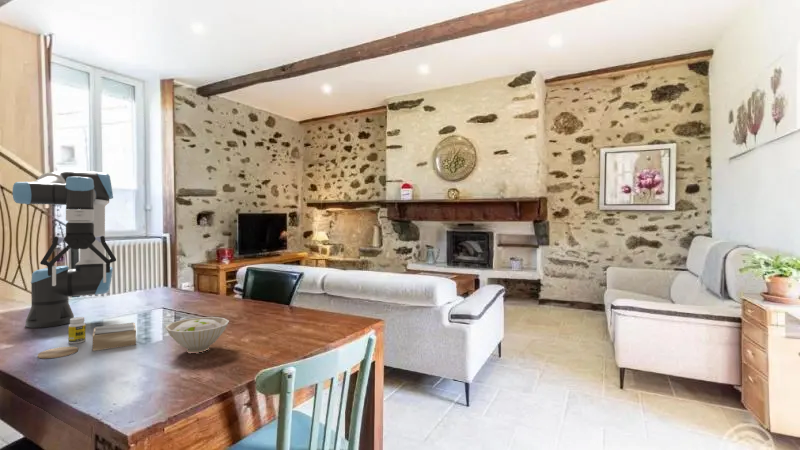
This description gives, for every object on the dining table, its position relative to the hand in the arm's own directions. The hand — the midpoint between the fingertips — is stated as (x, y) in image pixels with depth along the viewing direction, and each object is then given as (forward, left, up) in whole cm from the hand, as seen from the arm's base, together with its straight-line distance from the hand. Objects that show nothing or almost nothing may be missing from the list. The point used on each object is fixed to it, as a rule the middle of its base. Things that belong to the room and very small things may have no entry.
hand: (80, 283), depth 138 cm
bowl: (+27, +33, -22) cm, 48 cm away
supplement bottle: (-6, -1, -22) cm, 23 cm away
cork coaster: (+6, -5, -21) cm, 23 cm away
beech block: (+3, +10, -21) cm, 24 cm away
